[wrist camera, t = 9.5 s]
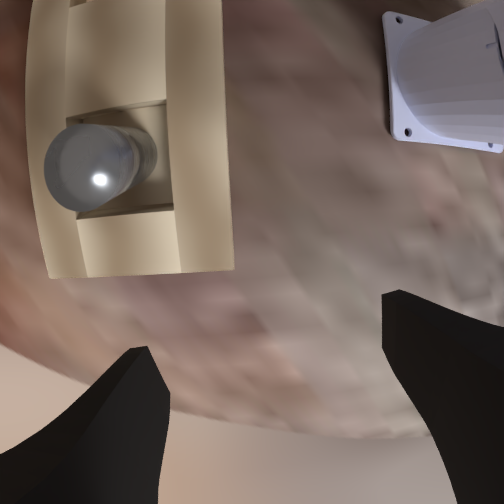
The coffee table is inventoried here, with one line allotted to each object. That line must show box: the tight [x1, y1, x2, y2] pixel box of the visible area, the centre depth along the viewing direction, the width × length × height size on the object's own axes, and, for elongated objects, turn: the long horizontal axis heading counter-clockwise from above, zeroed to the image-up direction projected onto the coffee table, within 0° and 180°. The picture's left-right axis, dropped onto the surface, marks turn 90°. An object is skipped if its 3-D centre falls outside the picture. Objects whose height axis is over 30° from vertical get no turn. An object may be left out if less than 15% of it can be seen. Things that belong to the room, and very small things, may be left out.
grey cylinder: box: [44, 124, 158, 212], centre depth 12 cm, size 3×3×6 cm
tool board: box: [25, 0, 234, 279], centre depth 13 cm, size 10×22×3 cm, turn 2°
